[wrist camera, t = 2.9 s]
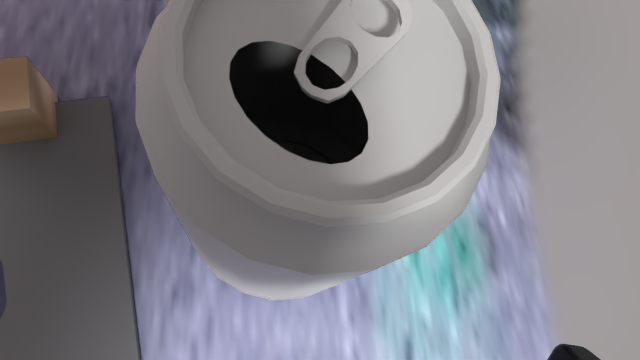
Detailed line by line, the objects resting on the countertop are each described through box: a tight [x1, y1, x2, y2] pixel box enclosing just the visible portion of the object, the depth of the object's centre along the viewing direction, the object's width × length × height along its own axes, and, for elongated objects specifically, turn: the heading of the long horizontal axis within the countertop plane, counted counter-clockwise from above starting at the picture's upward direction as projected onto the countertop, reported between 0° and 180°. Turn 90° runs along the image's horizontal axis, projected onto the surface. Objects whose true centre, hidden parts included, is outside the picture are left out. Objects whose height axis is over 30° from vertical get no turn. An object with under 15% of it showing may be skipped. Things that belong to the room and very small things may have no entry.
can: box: [135, 0, 500, 300], centre depth 14 cm, size 8×8×12 cm
